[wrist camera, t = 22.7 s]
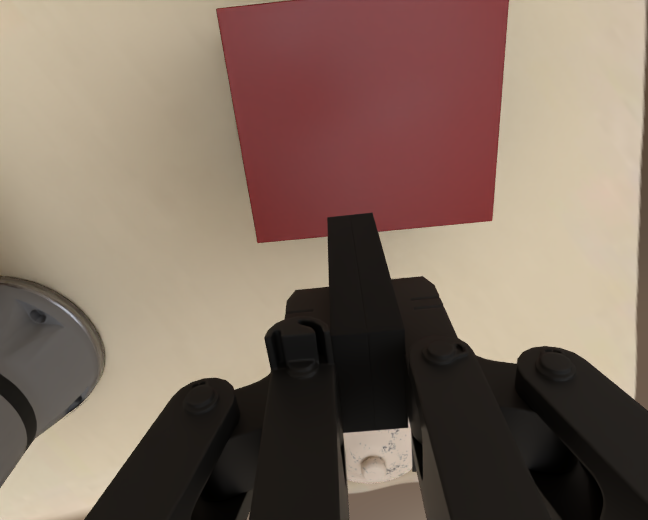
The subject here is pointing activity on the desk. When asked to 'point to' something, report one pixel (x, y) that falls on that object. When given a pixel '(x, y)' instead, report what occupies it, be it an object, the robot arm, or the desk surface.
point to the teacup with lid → (378, 454)
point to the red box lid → (366, 110)
